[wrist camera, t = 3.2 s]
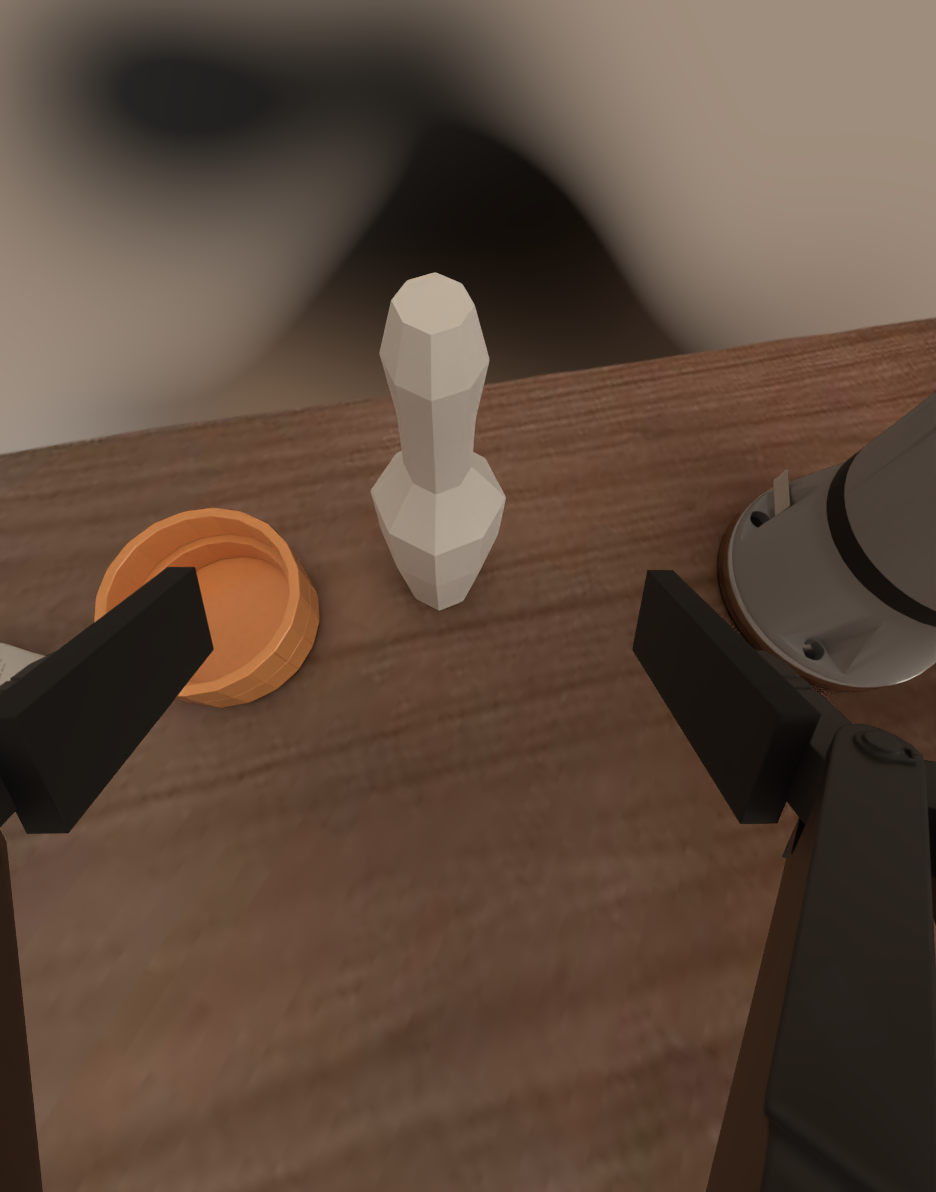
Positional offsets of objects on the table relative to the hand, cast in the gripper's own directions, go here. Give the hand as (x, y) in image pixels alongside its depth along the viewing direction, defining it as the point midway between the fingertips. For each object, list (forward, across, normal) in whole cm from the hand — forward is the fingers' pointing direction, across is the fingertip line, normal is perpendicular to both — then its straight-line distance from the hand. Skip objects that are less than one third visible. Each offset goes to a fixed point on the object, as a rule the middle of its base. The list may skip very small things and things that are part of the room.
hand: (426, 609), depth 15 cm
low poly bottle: (+19, 0, -8) cm, 21 cm away
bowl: (+17, -14, -10) cm, 24 cm away
